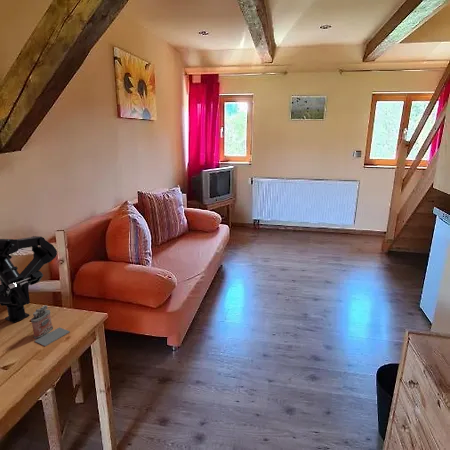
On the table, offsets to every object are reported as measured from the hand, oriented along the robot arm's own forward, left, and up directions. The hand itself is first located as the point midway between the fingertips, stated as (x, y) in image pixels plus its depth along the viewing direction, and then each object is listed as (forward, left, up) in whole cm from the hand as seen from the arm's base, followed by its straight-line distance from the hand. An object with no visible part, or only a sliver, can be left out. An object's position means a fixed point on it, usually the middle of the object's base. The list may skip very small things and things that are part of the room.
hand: (28, 303), depth 127 cm
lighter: (+6, 0, -11) cm, 13 cm away
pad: (+11, 0, -11) cm, 16 cm away
